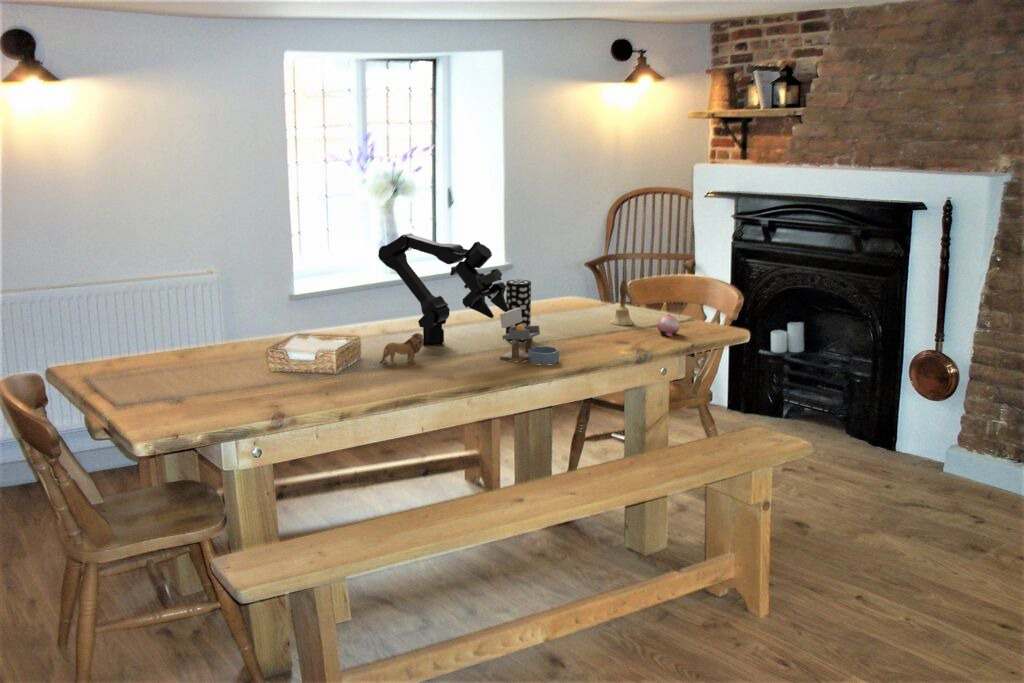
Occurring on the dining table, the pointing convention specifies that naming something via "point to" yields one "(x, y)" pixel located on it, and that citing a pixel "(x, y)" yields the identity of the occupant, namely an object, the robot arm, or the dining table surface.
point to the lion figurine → (404, 348)
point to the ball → (520, 327)
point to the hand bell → (622, 308)
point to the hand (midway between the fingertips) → (500, 314)
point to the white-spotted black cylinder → (519, 301)
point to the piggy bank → (668, 325)
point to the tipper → (510, 320)
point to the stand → (518, 351)
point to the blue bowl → (543, 355)
